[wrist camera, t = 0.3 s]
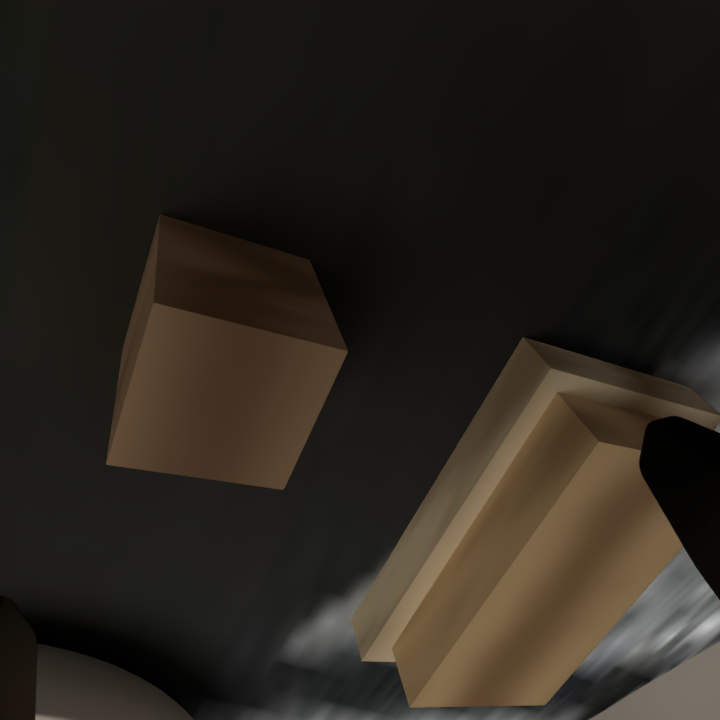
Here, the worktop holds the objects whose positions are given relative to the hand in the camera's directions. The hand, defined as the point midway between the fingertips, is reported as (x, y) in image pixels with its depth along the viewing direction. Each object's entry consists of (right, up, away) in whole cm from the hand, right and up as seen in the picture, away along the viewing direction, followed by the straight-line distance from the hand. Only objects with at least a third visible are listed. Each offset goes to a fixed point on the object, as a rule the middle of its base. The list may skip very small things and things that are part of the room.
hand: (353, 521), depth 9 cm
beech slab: (+7, -5, +23) cm, 25 cm away
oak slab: (+8, -6, +20) cm, 23 cm away
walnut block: (-5, +4, +13) cm, 14 cm away
